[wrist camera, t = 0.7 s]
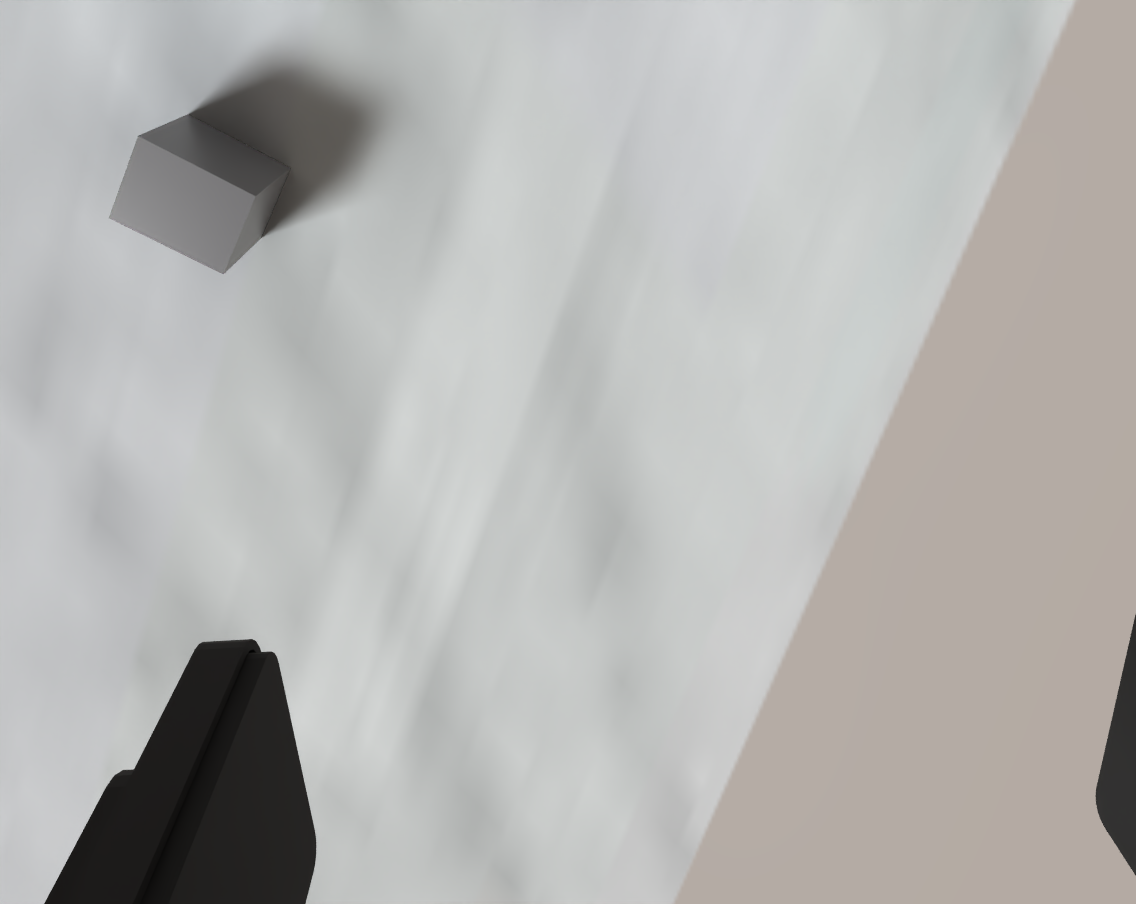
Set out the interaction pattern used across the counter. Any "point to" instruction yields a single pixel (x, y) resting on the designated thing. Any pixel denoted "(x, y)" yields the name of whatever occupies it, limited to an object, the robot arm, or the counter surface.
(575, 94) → the counter surface
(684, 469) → the counter surface
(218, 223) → the grey rectangular block
